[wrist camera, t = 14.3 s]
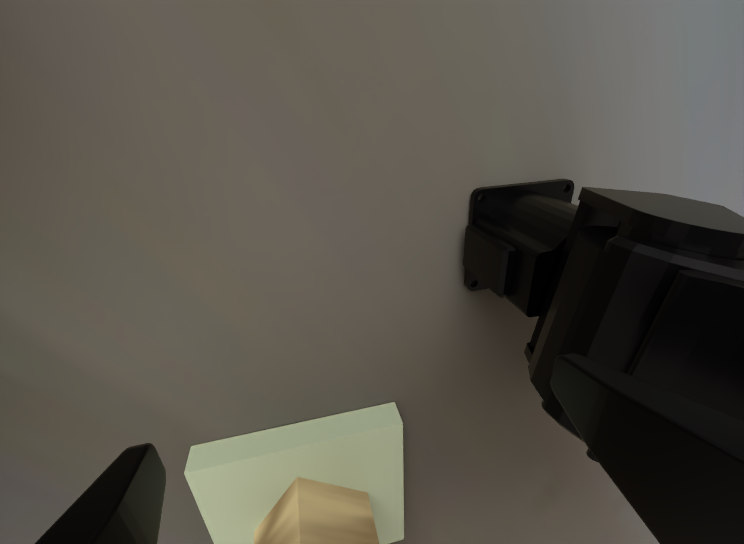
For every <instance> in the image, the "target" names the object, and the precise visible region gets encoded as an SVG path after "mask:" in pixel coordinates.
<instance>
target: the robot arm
mask: <svg viewBox="0 0 744 544" xmlns="http://www.w3.org/2000/svg"><path fill="white" fill-rule="evenodd" d="M565 185H566V188H565V189H564V190H563V188H564V186H565ZM573 191H574V183H573V181H571V180H568V179H557V180H547V181H538V182H528V183H519V184H509V185H500V186H490V187H481V188H477V189H475V190H474V191H473V192H472V194H471V200H470V213H469V225H468V226H467V227H466V234H465V248H464V261H463V265H464V266H465V277H464V285H465V286H466V287H467V288H468V289H469V290H471V291H475V290H481V289H487V288H490V289H491V290H492V291H493V292H494V293H495V294H496V295H498V296H499V297H501V298H502V297H506V298H507V299H508V300H509V301H510V302H512V303H513V304H514V305H515V306H516V307H517V308H518V309H520V310H521V311H522V312H523V313H524V314H525V315H527V316H528V317H535V316H539V318H538V321H537V324H536V327H535V330H534V332H533V335H532V338H531V341H530V342H529V343H527V346H526V348H525V351H524V353H525V355H526V358H527V360H528V362H529V366H528V369H529V374H530V380H531V382H532V383H533V385H534V387H535V388H536V390H537V391H538V393H539V394H540V396H541V397H542V399H543V401H542V403H541V404H542V407H543V409H544V410H545V411H546V413H548V414H549V415H550V416H551V417H552V418H553V419H554V420H555V421H556V422H557V423H558V424H559V425H561V426H562V427H563V428H565V429H566V430H567V431H569V432H570V433H571V434H573V435H574V436H576V437H577V438H579V439H580V440H582V441H583V442H585V443H586V445H587V446H588V450H587V455H588V457H589V458H590V459H592V460H594V461H596V462H599V463H600V465H601V466H602V467H603V469H604V470H605V471H606V473H607V474H608V475H609V477H610V478H611V479H612V481H613V482H614V483H615V485H616V486H617V487H618V489H619V490H620V491H621V493H622V494H623V495H624V497H625V498H626V499H627V501H628V502H629V503H630V505H631V506H632V507H633V509H634V510H635V511H636V513H637V514H638V515H639V517H640V518H641V519H642V521H643V522H644V523H645V525H646V526H647V527H648V529H649V530H650V531H651V533H652V534H653V535H654V537H655V538H656V539H657V541H658V542H659V543H660V544H744V217H742V216H740V215H738V214H737V213H735V212H733V211H731V210H729V209H727V208H726V207H724V206H720V205H716V204H711V203H706V202H701V201H697V200H692V199H687V198H682V197H677V196H672V195H667V194H660V193H649V192H637V191H625V190H614V189H602V188H590V187H582V189H581V192H580V195H579V198H578V200H580V203H579V206H577V205H574V204H571V200H572V196H573ZM480 194H483V197H482V199H481V200H479V201H478V197H479V195H480ZM474 280H475V282H474V283H473V284H471V282H472V281H474ZM165 485H166V471H165V468H164V466H163V464H162V461H161V459H160V457H159V455H158V453H157V451H156V448H155V447H154V445H153V444H151V443H146V444H141V445H136V446H132V447H129V448H127V449H126V450H124V451H123V452H122V453H121V454H120V455H119V456H118V457H117V459H116V460H115V461H114V462H113V463H112V464H111V465H110V466H109V467H108V468H107V469H106V470H105V471H104V472H103V473H102V474H101V475H100V476H99V477H98V478H97V479H96V480H95V481H94V482H93V483H92V485H91V486H90V487H89V488H88V489H87V490H86V491H85V492H84V493H83V494H82V495H81V496H80V497H79V498H78V499H77V500H76V501H75V502H74V503H73V504H72V505H71V506H70V507H69V508H68V510H67V511H66V512H65V513H64V514H63V515H62V516H61V517H60V518H59V519H58V520H57V521H56V522H55V523H54V524H53V525H52V526H51V527H50V528H49V529H48V530H47V531H46V532H45V533H44V535H43V536H42V537H41V538H40V539H39V540H38V541H37V542H36V543H35V544H157V541H158V534H159V527H160V520H161V513H162V506H163V499H164V492H165Z"/></svg>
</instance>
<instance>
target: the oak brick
mask: <svg viewBox="0 0 744 544" xmlns="http://www.w3.org/2000/svg"><path fill="white" fill-rule="evenodd" d="M254 544H379V540H378V536H377V531H376V527H375V523H374V518H373V514H372V510H371V505H370V501H369V496H368V493H367V492H363V491H359V490H354V489H350V488H345V487H341V486H336V485H332V484H327V483H323V482H319V481H314V480H310V479H305V478H301V477H296V479H295V480H294V481H293V482H292V484H291V485H290V486H289V488H288V489H287V490H286V491H285V493H284V494H283V495H282V497H281V498H280V499H279V501H278V502H277V503H276V504H275V506H274V507H273V508H272V510H271V511H270V512H269V513H268V515H267V516H266V517H265V519H264V520H263V521H262V522H261V524H260V525H259V526H258V528H257V529H256V530H255V532H254Z"/></svg>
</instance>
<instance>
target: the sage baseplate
mask: <svg viewBox="0 0 744 544" xmlns="http://www.w3.org/2000/svg"><path fill="white" fill-rule="evenodd" d="M184 475H185V477H186V479H187V482H188V484H189V486H190V489H191V491H192V493H193V496H194V498H195V500H196V503H197V505H198V507H199V510H200V512H201V514H202V517H203V519H204V521H205V524H206V526H207V528H208V531H209V533H210V535H211V538H212V540H213V542H214V544H254V532H255V530H256V529H257V528H258V526H259V525H260V524H261V522H262V521H263V520H264V519H265V517H266V516H267V515H268V513H269V512H270V511H271V510H272V508H273V507H274V506H275V504H276V503H277V502H278V501H279V499H280V498H281V497H282V495H283V494H284V493H285V491H286V490H287V489H288V488H289V486H290V485H291V484H292V482H293V481H294V480H295V479H296V477H301V478H305V479H310V480H314V481H319V482H323V483H327V484H332V485H336V486H341V487H345V488H350V489H354V490H359V491H363V492H367V493H368V496H369V501H370V505H371V510H372V514H373V518H374V523H375V527H376V531H377V536H378V540H379V544H389V543H393V542H396V541H399V540H403V539H404V489H403V422H402V420H401V417H400V415H399V412H398V409H397V407H396V404H395V402H391V403H386V404H382V405H377V406H373V407H368V408H364V409H359V410H354V411H350V412H345V413H341V414H336V415H331V416H327V417H322V418H318V419H313V420H308V421H304V422H299V423H295V424H290V425H285V426H281V427H276V428H272V429H267V430H262V431H258V432H253V433H249V434H244V435H239V436H235V437H230V438H226V439H221V440H217V441H212V442H207V443H203V444H198V445H194V446H191V449H190V453H189V456H188V460H187V464H186V468H185V472H184Z"/></svg>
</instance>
